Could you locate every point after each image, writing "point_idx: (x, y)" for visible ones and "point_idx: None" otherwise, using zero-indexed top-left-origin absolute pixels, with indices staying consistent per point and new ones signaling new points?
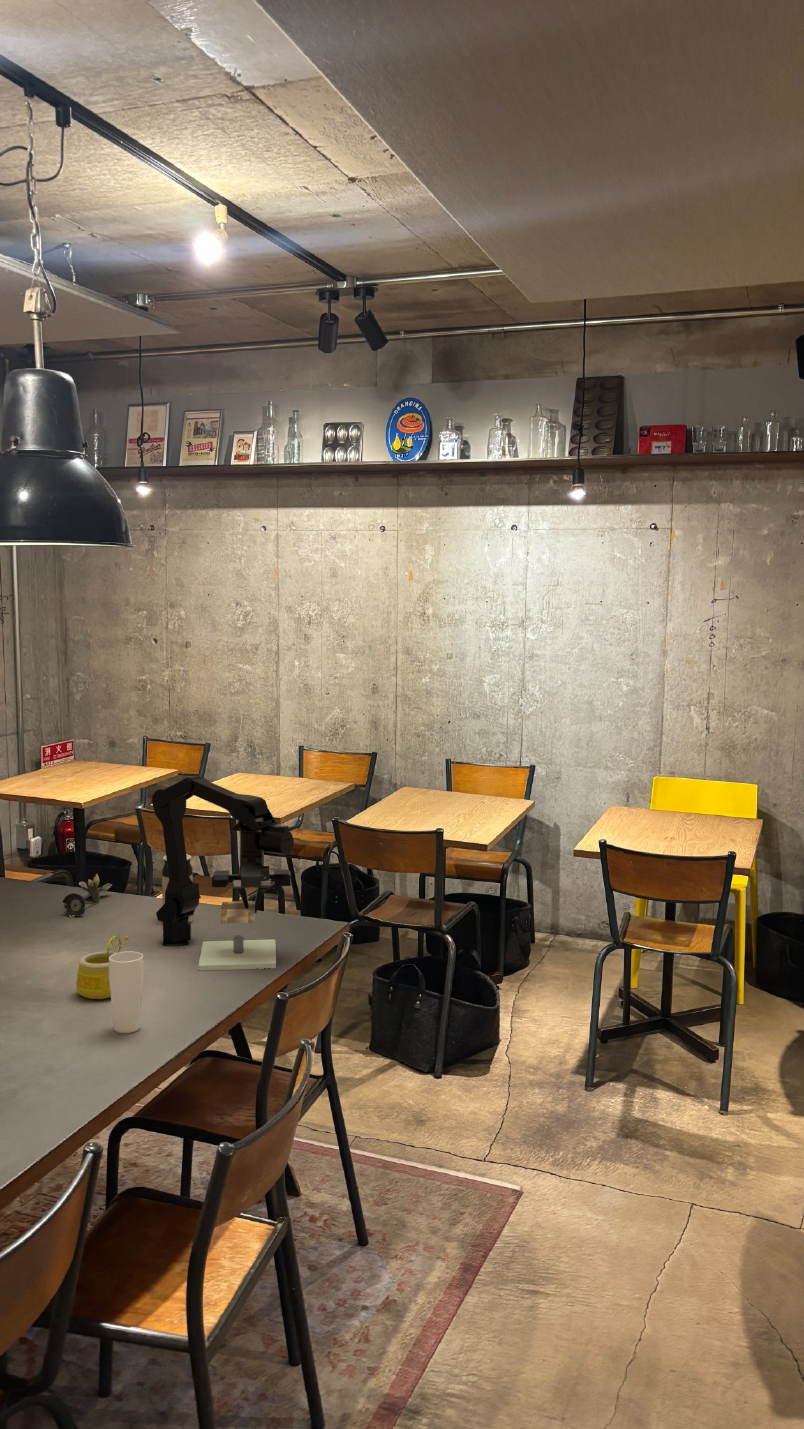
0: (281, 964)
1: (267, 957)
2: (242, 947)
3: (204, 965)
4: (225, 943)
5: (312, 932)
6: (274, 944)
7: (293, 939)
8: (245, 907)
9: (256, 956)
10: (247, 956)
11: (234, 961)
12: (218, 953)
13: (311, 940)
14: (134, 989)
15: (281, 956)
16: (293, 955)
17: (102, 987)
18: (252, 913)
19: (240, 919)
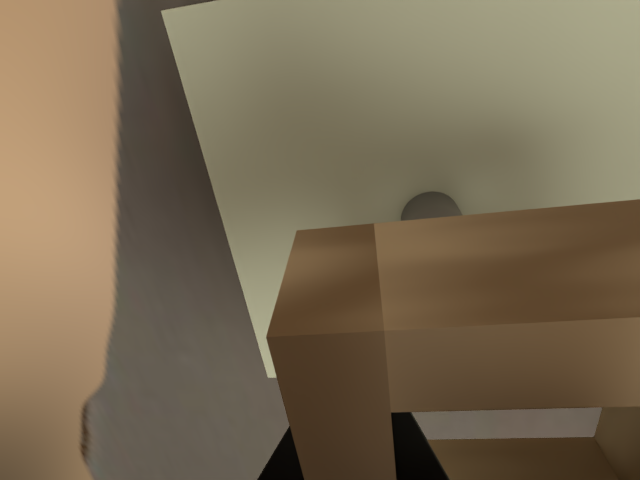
0: (166, 91)
1: (245, 129)
2: (409, 219)
3: None
4: None
5: (167, 455)
6: (257, 322)
7: (213, 403)
8: (440, 472)
9: (314, 144)
10: (369, 142)
11: (449, 36)
12: (551, 191)
13: (141, 392)
14: None
15: (204, 218)
16: (151, 232)
17: None
18: (308, 298)
19: (486, 235)
